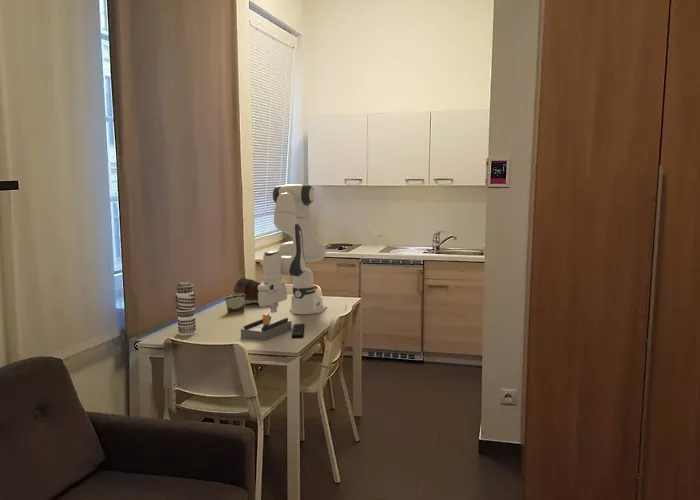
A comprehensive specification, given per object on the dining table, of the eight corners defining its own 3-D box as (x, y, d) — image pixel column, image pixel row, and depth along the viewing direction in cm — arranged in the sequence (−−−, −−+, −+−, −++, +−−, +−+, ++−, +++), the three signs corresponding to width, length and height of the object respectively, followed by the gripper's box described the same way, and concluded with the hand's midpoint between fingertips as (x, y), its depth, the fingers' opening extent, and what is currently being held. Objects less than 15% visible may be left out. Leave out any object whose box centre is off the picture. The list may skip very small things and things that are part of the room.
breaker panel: (267, 326, 304) (267, 318, 304) (291, 328, 298) (291, 320, 298) (241, 337, 285) (240, 329, 284) (265, 340, 279) (265, 331, 278)
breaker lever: (265, 323, 292) (265, 313, 292) (269, 324, 291) (269, 313, 291) (263, 324, 291) (262, 314, 290) (267, 325, 290) (266, 314, 289)
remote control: (292, 339, 281) (291, 336, 281) (293, 326, 305) (293, 323, 305) (303, 339, 281) (303, 336, 281) (304, 326, 305) (304, 323, 305)
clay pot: (274, 286, 348) (235, 277, 354) (269, 312, 348) (230, 303, 354) (283, 285, 362) (245, 276, 368) (279, 310, 363) (241, 301, 369)
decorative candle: (191, 329, 302) (188, 280, 299) (200, 332, 295) (197, 282, 292) (174, 333, 296) (170, 282, 293) (183, 336, 289) (179, 285, 286)
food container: (242, 309, 345) (241, 291, 344) (246, 311, 340) (245, 293, 339) (221, 312, 339) (220, 294, 338) (225, 314, 334) (224, 296, 332)
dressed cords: (269, 318, 303) (269, 315, 303) (288, 320, 298) (288, 317, 298) (242, 329, 284) (242, 326, 284) (263, 331, 279) (263, 328, 279)
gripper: (279, 280, 305) (280, 307, 307) (255, 287, 287) (256, 315, 289) (289, 281, 302) (290, 308, 304) (266, 287, 284) (267, 316, 286)
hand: (273, 312), depth 296 cm, fingers closed
